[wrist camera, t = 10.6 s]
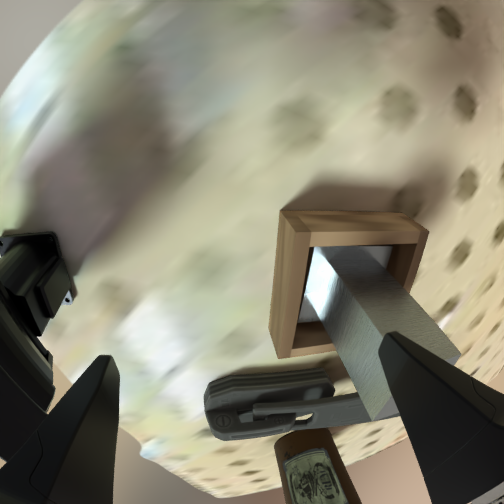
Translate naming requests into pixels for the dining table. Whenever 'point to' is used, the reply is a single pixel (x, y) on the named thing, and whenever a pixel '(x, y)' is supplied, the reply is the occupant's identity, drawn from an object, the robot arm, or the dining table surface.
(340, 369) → the dining table surface
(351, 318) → the bracket post
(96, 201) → the dining table surface
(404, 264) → the well
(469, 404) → the robot arm
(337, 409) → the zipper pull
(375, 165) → the dining table surface
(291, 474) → the olive oil
